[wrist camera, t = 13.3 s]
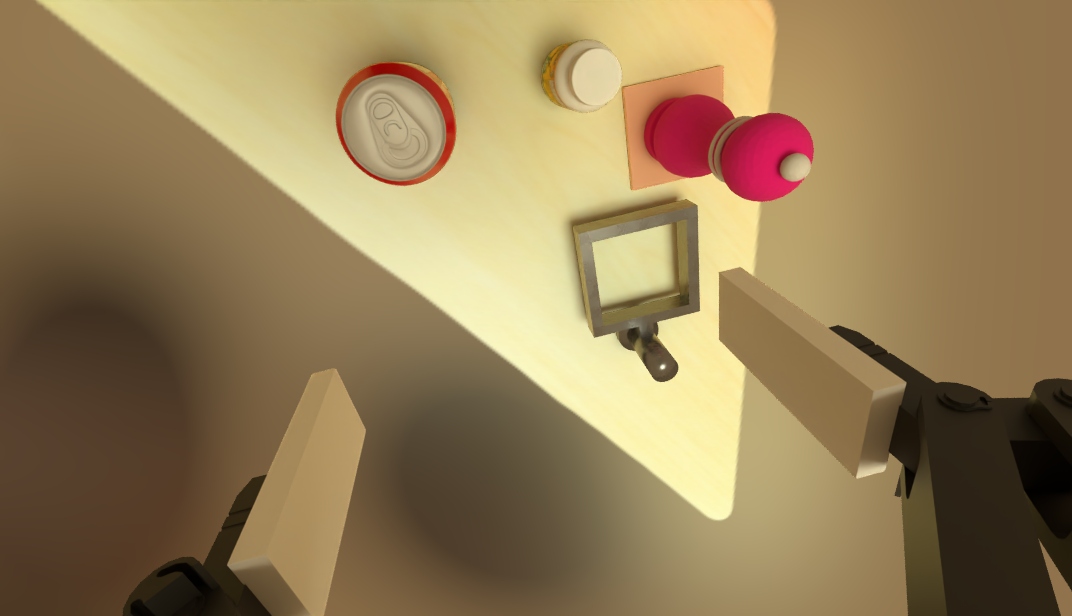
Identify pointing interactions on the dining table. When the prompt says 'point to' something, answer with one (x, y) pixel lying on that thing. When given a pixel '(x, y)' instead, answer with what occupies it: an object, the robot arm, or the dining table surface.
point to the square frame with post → (641, 320)
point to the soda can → (396, 122)
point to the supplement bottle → (581, 75)
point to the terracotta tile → (642, 104)
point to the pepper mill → (730, 146)
